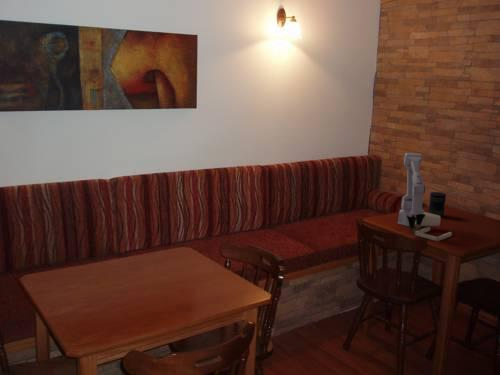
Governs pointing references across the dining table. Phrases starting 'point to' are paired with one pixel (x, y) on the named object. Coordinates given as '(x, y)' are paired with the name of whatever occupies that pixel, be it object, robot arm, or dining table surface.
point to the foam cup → (430, 220)
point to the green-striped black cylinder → (437, 203)
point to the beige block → (416, 228)
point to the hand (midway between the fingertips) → (415, 226)
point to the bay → (422, 231)
